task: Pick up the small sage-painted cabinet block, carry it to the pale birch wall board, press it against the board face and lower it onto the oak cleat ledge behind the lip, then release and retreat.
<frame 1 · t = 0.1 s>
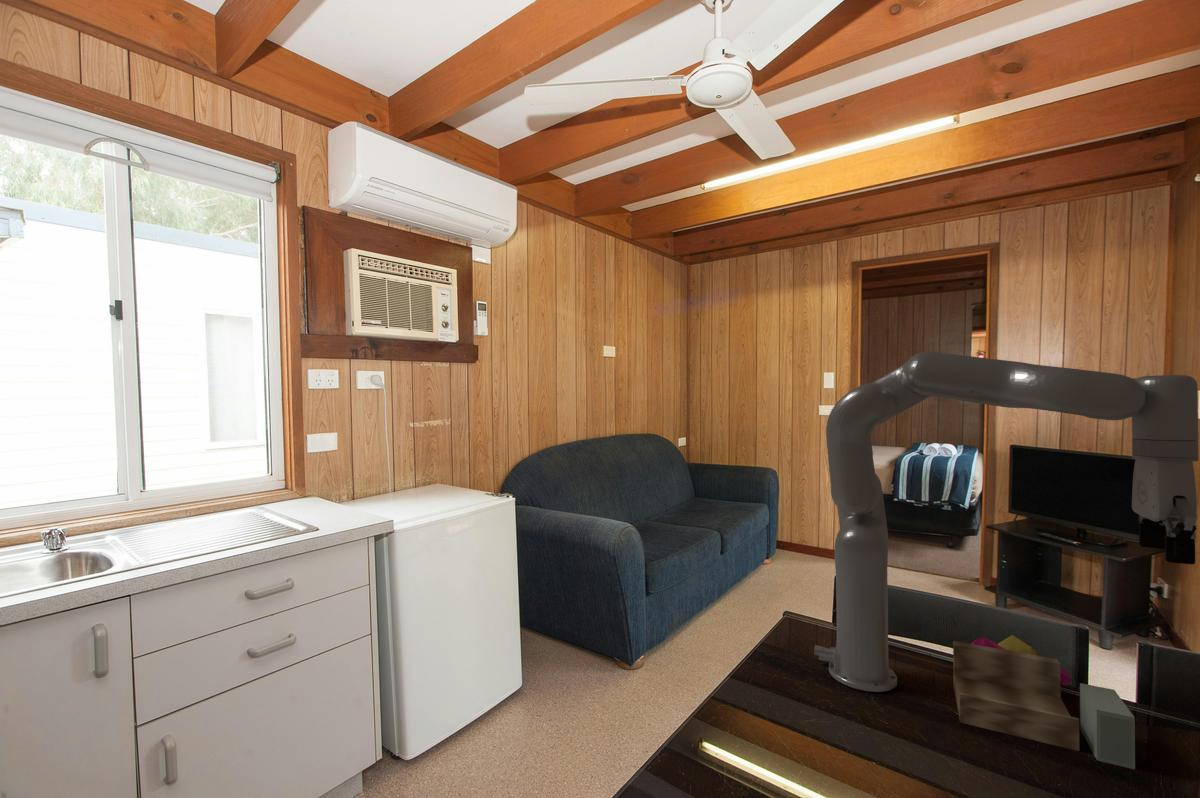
hand: (1165, 554, 88), 31 cm above the table, fingers open, 9 cm apart
toy: (1016, 686, 106), on the table
cabinet block: (1106, 748, 87), on the table
wall board: (1004, 699, 101), on the table
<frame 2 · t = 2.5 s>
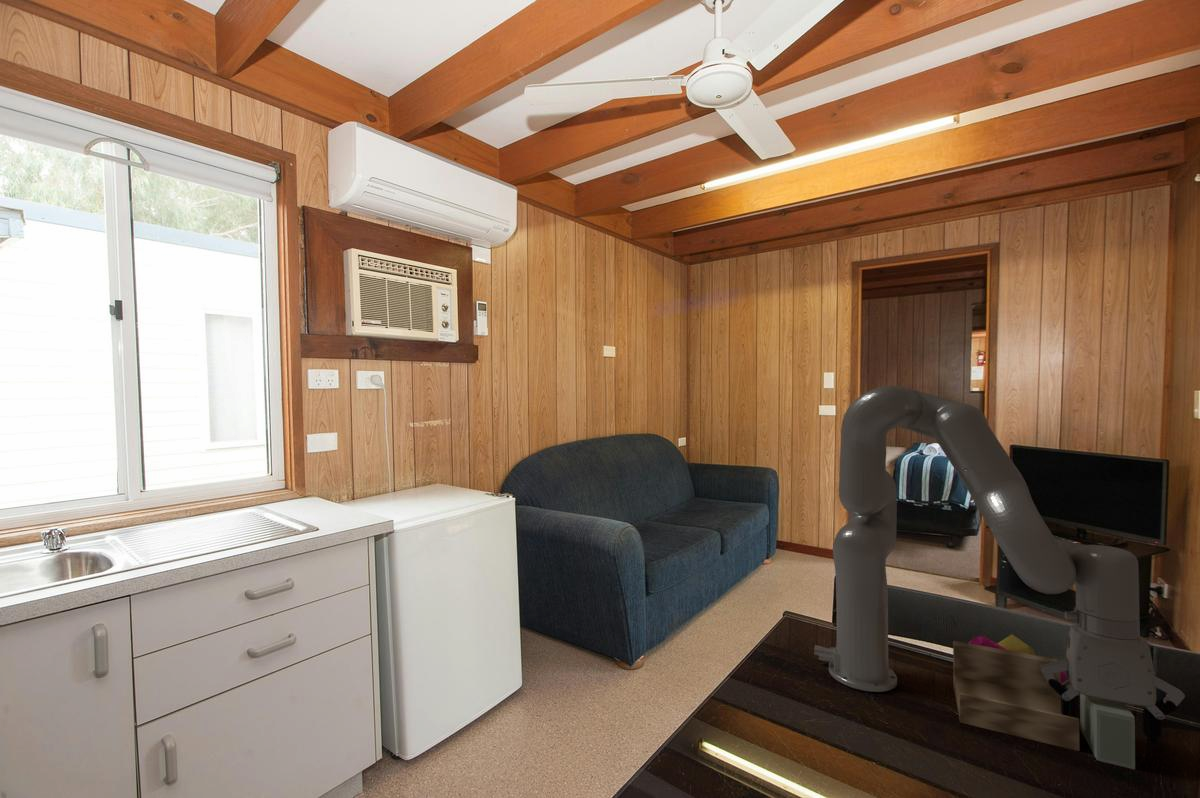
hand: (1109, 730, 87), 3 cm above the table, fingers open, 9 cm apart
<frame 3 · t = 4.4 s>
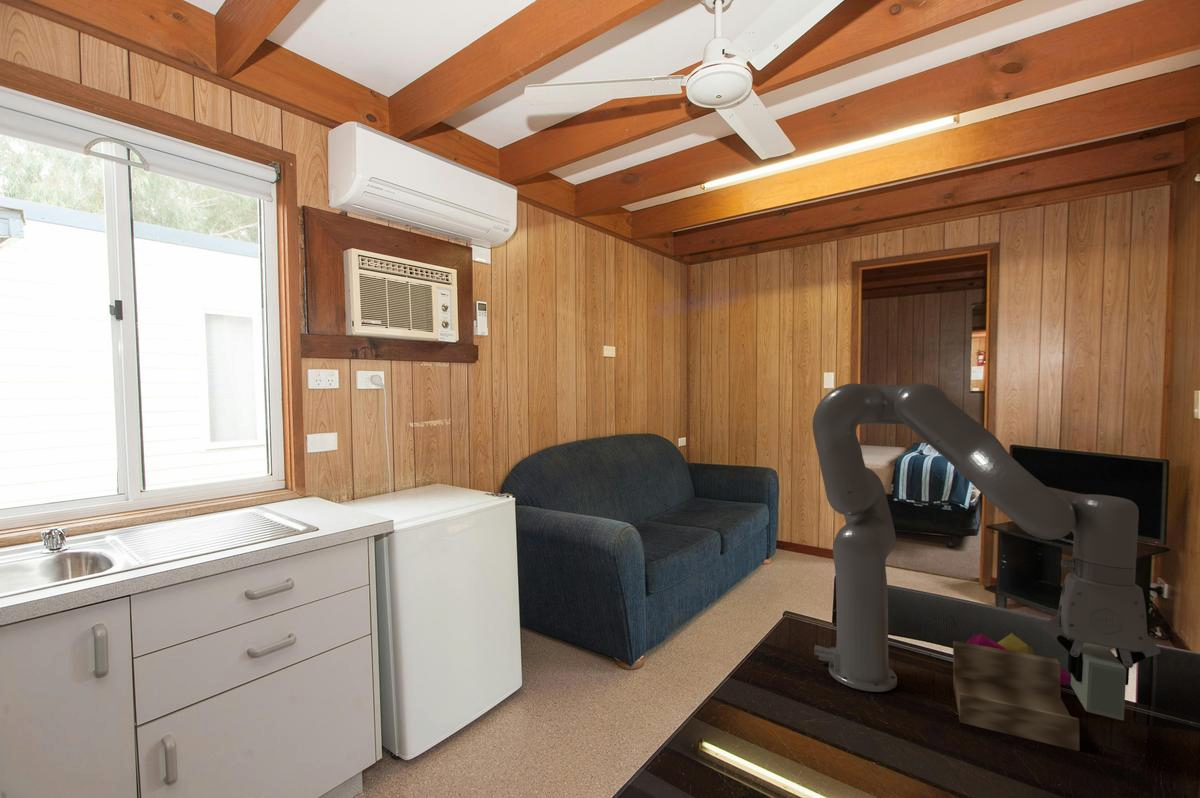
hand: (1096, 681, 88), 10 cm above the table, fingers closed on cabinet block, 4 cm apart
cabinet block: (1095, 701, 88), point 7 cm above the table, touching gripper
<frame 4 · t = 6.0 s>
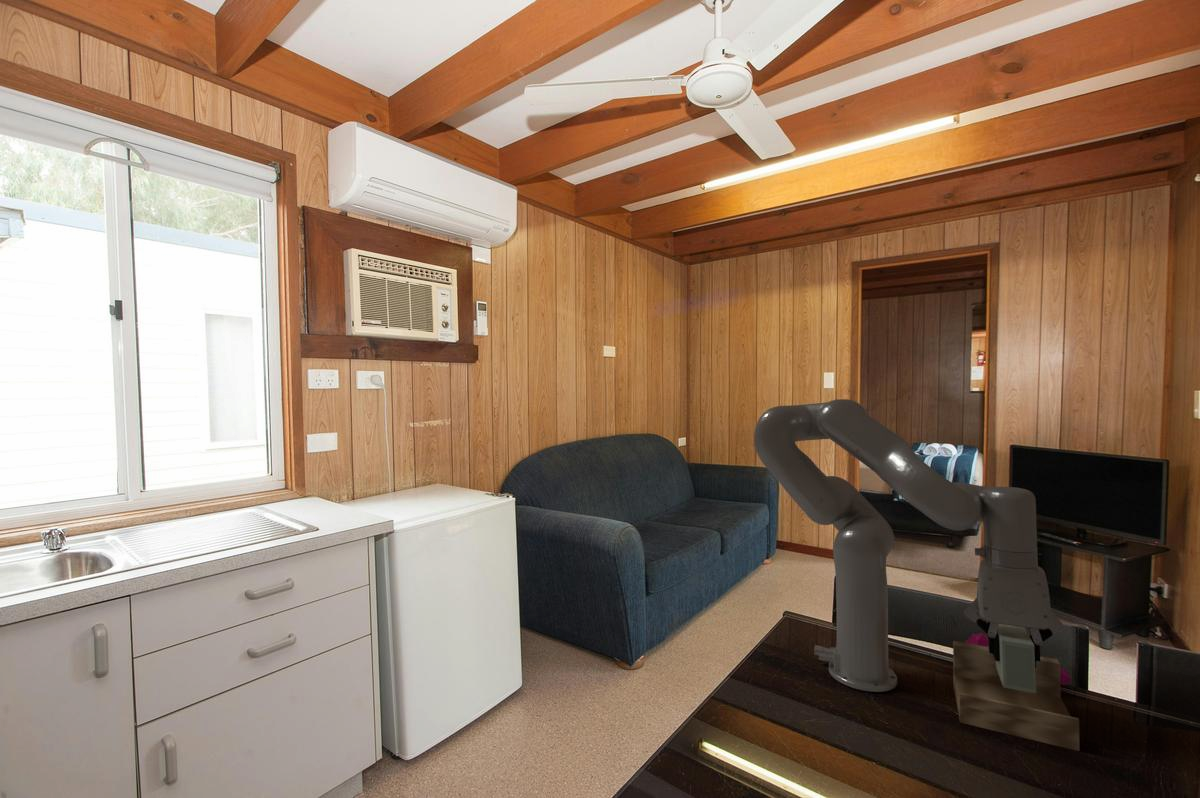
hand: (1014, 660, 95), 10 cm above the table, fingers closed on cabinet block, 4 cm apart
cabinet block: (1014, 678, 95), point 7 cm above the table, touching gripper
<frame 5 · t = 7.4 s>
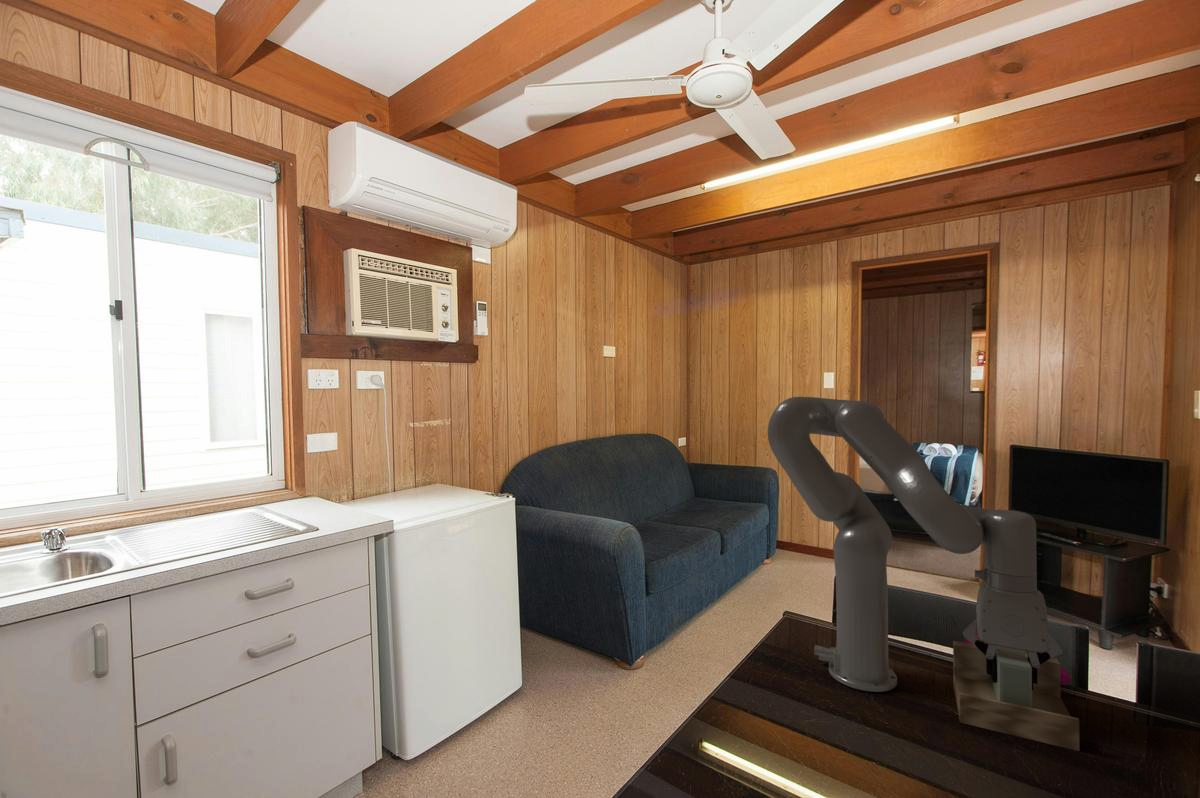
hand: (1011, 681, 96), 6 cm above the table, fingers closed on cabinet block, 4 cm apart
cabinet block: (1011, 698, 96), point 3 cm above the table, touching gripper, wall board
when the fingers open (6 cm above the table, at t = 7.8 s): cabinet block stays where it is, resting on wall board.
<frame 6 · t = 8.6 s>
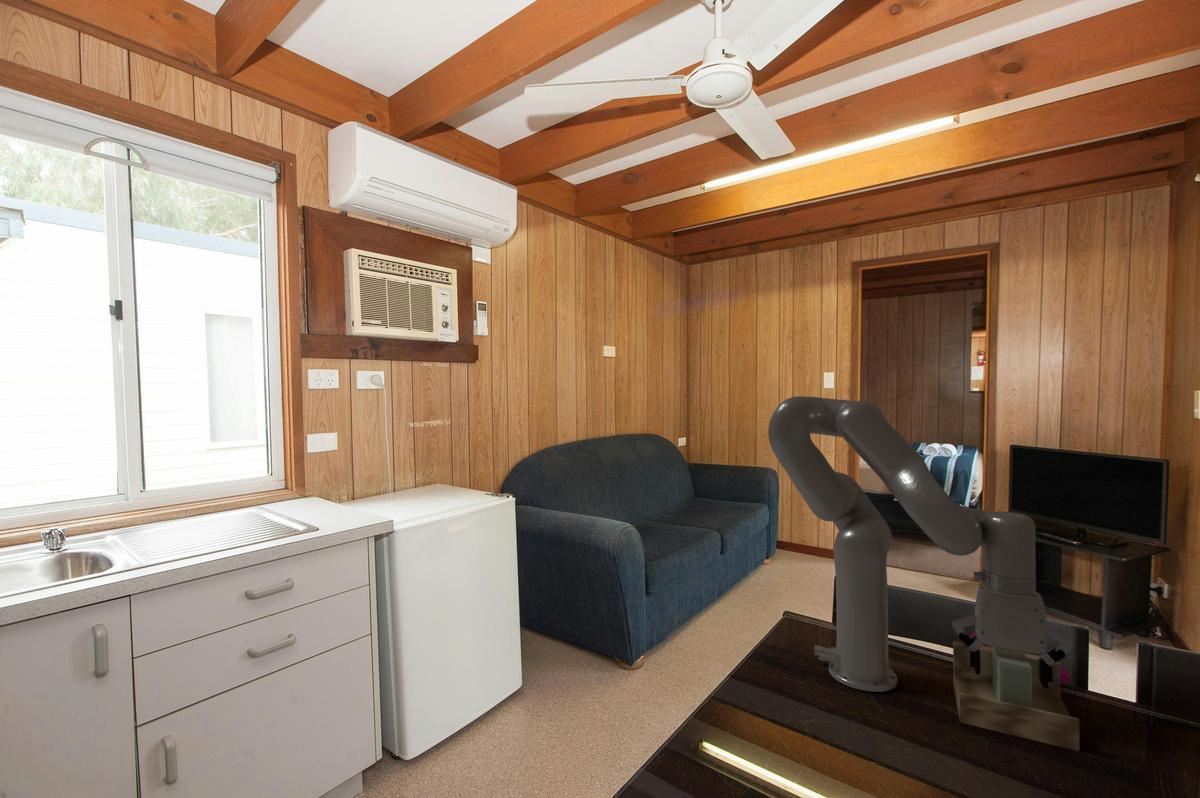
hand: (1009, 677, 96), 7 cm above the table, fingers open, 9 cm apart
cabinet block: (1011, 698, 96), point 3 cm above the table, touching wall board
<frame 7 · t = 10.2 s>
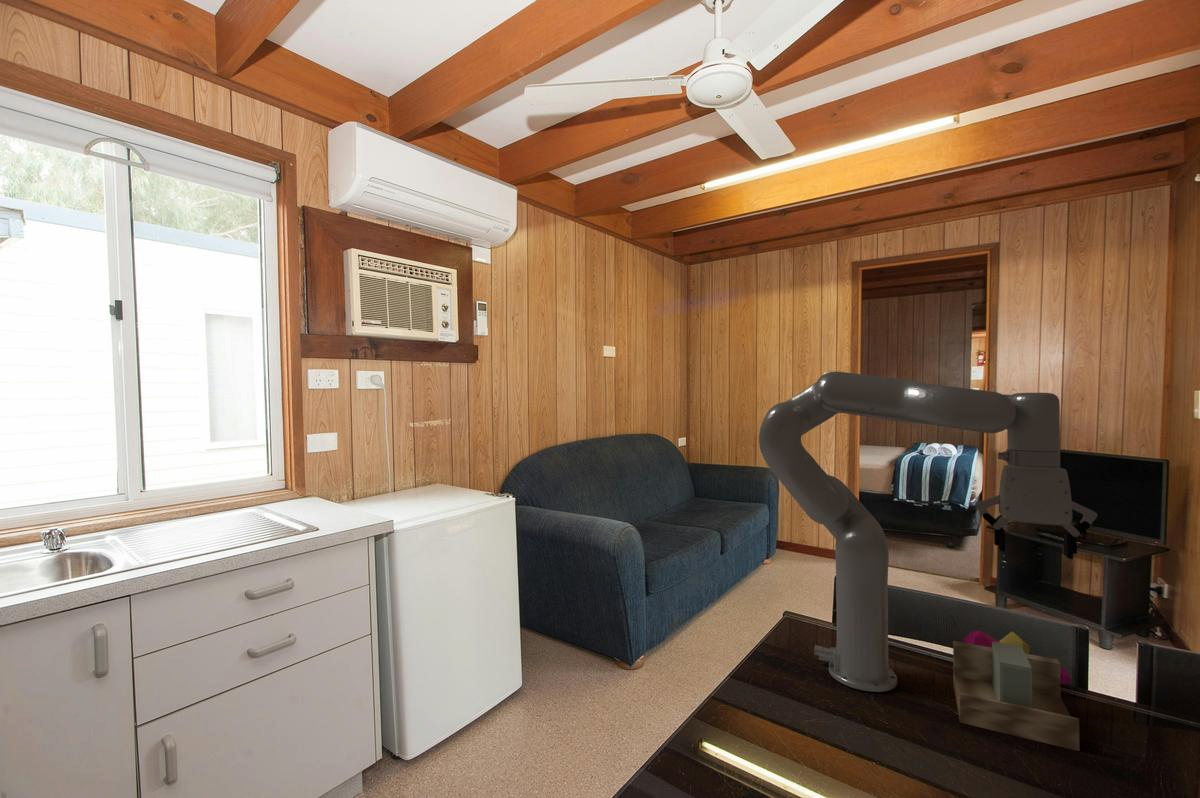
hand: (1034, 553, 98), 28 cm above the table, fingers open, 9 cm apart
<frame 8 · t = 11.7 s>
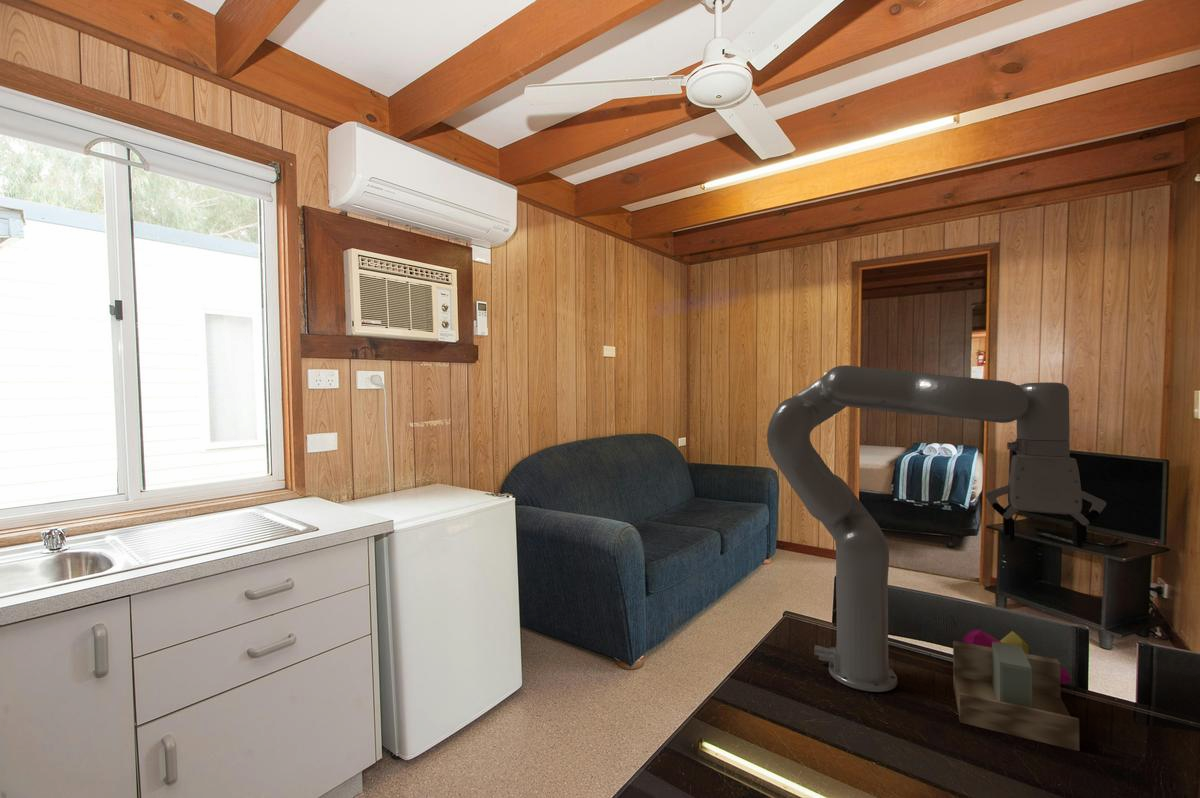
hand: (1043, 542, 99), 30 cm above the table, fingers open, 9 cm apart
at the end: cabinet block inside the target area (0.6 cm from its centre), point 3.0 cm above the table; cabinet block tilted 0°; the gripper is holding nothing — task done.
